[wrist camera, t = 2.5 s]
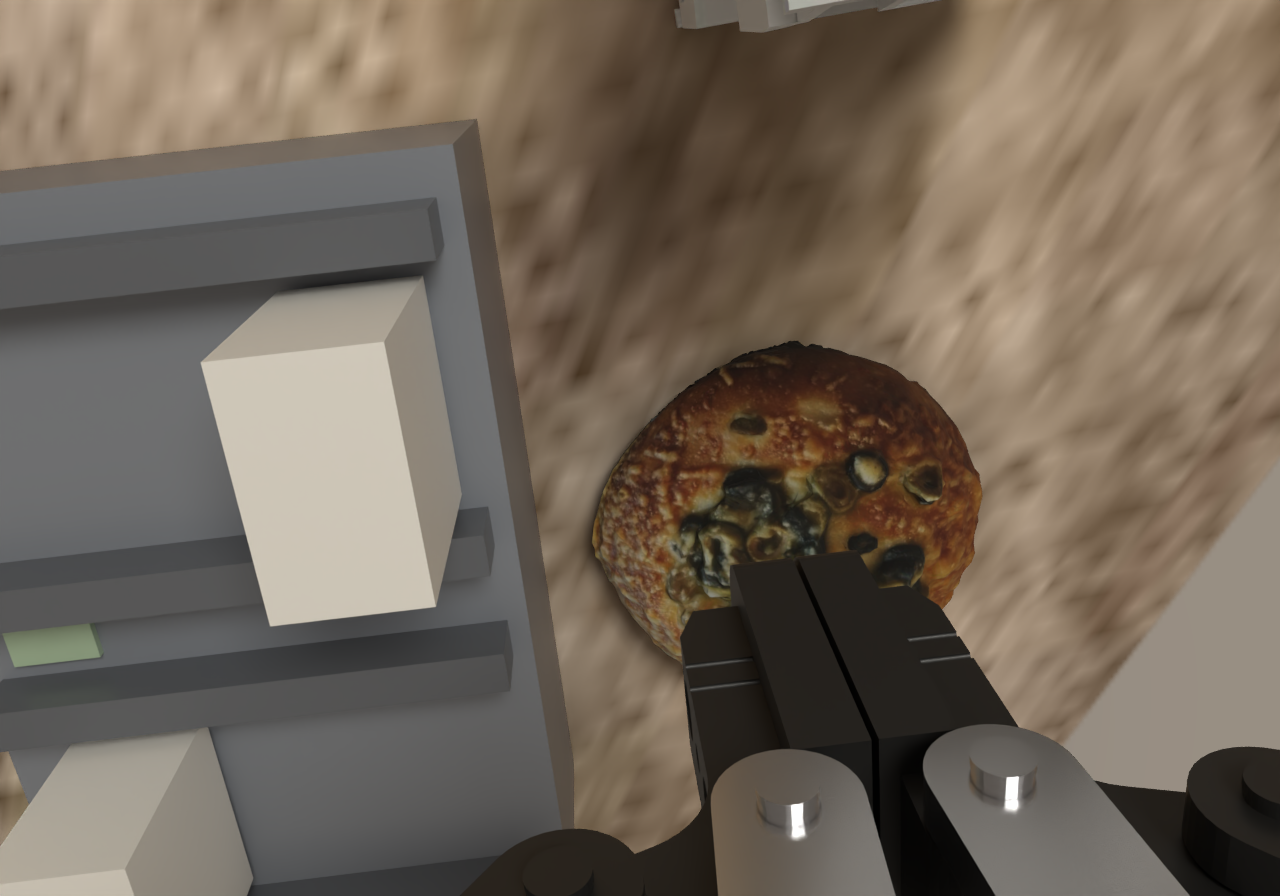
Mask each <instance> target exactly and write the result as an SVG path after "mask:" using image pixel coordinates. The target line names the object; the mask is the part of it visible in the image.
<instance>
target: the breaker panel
mask: <svg viewBox="0 0 1280 896" xmlns="http://www.w3.org/2000/svg"><path fill="white" fill-rule="evenodd" d="M420 275H423V279H424V284H425V290H426V295H427V301H428V307H429V312H430V318H431V324H432V329H433V335H434V340H435V346H436V352H437V357H438V363H439V369H440V374H441V380H442V386H443V391H444V397H445V402H446V408H447V414H448V419H449V425H450V431H451V436H452V442H453V447H454V453H455V459H456V464H457V470H458V476H459V481H460V487H461V493H462V496H461V500H460V505H459V509H458V513H457V518H456V522H455V526H454V531H453V535H452V539H451V544H450V548H449V552H448V557H447V561H446V565H445V570H444V574H443V578H442V583H441V587H440V591H439V596H438V600H437V604H436V607H431V608H423V609H414V610H406V611H397V612H389V613H380V614H372V615H363V616H355V617H346V618H338V619H329V620H321V621H313V622H304V623H296V624H287V625H279V626H270V624H269V620H268V616H267V613H266V609H265V605H264V601H263V597H262V594H261V590H260V586H259V582H258V579H257V575H256V571H255V567H254V563H253V560H252V556H251V552H250V548H249V544H248V541H247V537H246V533H245V529H244V525H243V522H242V518H241V514H240V510H239V506H238V503H237V499H236V495H235V491H234V488H233V484H232V480H231V476H230V472H229V469H228V465H227V461H226V457H225V453H224V450H223V446H222V442H221V438H220V434H219V431H218V427H217V423H216V419H215V416H214V412H213V408H212V404H211V400H210V397H209V393H208V389H207V385H206V381H205V378H204V374H203V370H202V366H201V362H202V361H203V360H204V359H205V358H206V357H207V356H208V355H209V354H210V353H211V352H212V351H214V350H215V349H216V348H217V347H218V346H219V345H220V344H221V343H222V342H223V341H224V340H226V339H227V338H228V337H229V336H230V335H231V334H232V333H233V332H234V331H235V330H236V329H237V328H239V327H240V326H241V325H242V324H243V323H244V322H245V321H246V320H247V319H248V318H249V317H251V316H252V315H253V314H254V313H255V312H256V311H257V310H258V309H259V308H260V307H261V306H263V305H264V304H265V303H266V302H267V301H268V300H269V299H270V298H271V297H272V296H273V295H274V294H276V293H277V292H278V291H286V290H295V289H304V288H312V287H321V286H330V285H339V284H348V283H357V282H366V281H375V280H384V279H393V278H402V277H411V276H420ZM206 727H208V729H209V732H210V736H211V739H212V742H213V746H214V749H215V752H216V756H217V759H218V762H219V765H220V769H221V772H222V775H223V779H224V782H225V785H226V789H227V792H228V795H229V799H230V802H231V805H232V809H233V812H234V815H235V819H236V822H237V825H238V829H239V832H240V835H241V839H242V842H243V845H244V849H245V852H246V855H247V859H248V862H249V865H250V869H251V872H252V875H253V881H252V883H251V886H250V889H249V892H248V894H247V896H460V895H461V894H462V893H463V892H464V891H465V890H466V889H467V888H468V887H469V886H470V885H471V884H472V883H473V882H474V881H475V880H476V879H477V878H478V877H479V876H480V875H481V874H482V873H483V872H484V871H485V870H486V869H487V868H488V867H489V866H490V865H491V864H492V863H493V862H494V861H495V860H496V859H497V858H499V857H500V856H501V855H502V854H503V853H505V852H506V851H507V850H508V849H510V848H512V847H513V846H515V845H516V844H518V843H520V842H522V841H524V840H526V839H528V838H530V837H533V836H536V835H539V834H542V833H545V832H550V831H555V830H562V829H574V762H573V755H572V749H571V742H570V735H569V729H568V722H567V715H566V709H565V702H564V695H563V689H562V682H561V675H560V669H559V662H558V655H557V649H556V642H555V636H554V629H553V622H552V616H551V609H550V602H549V596H548V589H547V582H546V576H545V569H544V562H543V556H542V549H541V542H540V536H539V529H538V522H537V516H536V509H535V503H534V496H533V489H532V483H531V476H530V469H529V463H528V456H527V449H526V443H525V436H524V429H523V423H522V416H521V409H520V403H519V396H518V389H517V383H516V376H515V370H514V363H513V356H512V350H511V343H510V336H509V330H508V323H507V316H506V310H505V303H504V296H503V290H502V283H501V276H500V270H499V263H498V256H497V250H496V243H495V236H494V230H493V223H492V217H491V210H490V203H489V197H488V190H487V183H486V177H485V170H484V163H483V157H482V150H481V143H480V137H479V130H478V123H477V119H474V120H464V121H455V122H446V123H437V124H428V125H419V126H410V127H400V128H391V129H382V130H373V131H364V132H355V133H346V134H336V135H327V136H318V137H309V138H300V139H291V140H282V141H272V142H263V143H254V144H245V145H236V146H227V147H218V148H208V149H199V150H190V151H181V152H172V153H163V154H154V155H144V156H135V157H126V158H117V159H108V160H99V161H90V162H80V163H71V164H62V165H53V166H44V167H35V168H25V169H16V170H7V171H0V752H5V751H9V754H10V756H11V759H12V762H13V764H14V767H15V769H16V772H17V774H18V777H19V780H20V782H21V785H22V787H23V790H24V792H25V795H26V798H27V800H28V803H29V804H30V803H31V801H32V800H33V799H34V797H35V796H36V794H37V793H38V791H39V790H40V788H41V787H42V786H43V784H44V783H45V781H46V780H47V778H48V777H49V775H50V774H51V773H52V771H53V770H54V768H55V767H56V765H57V764H58V762H59V761H60V760H61V758H62V757H63V755H64V754H65V752H66V751H67V749H68V748H69V747H70V745H71V744H72V743H81V742H89V741H98V740H106V739H114V738H123V737H131V736H139V735H148V734H156V733H164V732H173V731H181V730H190V729H198V728H206Z"/></svg>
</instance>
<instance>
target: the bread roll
mask: <svg viewBox="0 0 1280 896" xmlns="http://www.w3.org/2000/svg"><path fill="white" fill-rule="evenodd" d="M981 500H982V488H981V484H980V477H979V473H978V472H977V471H976V469H975V468H974V466H973V464H972V461H971V459H970V456H969V453H968V450H967V447H966V444H965V442H964V440H963V438H962V436H961V434H960V432H959V430H958V428H957V426H956V425H955V424H954V422H953V421H952V420H951V419H950V417H949V416H948V415H947V414H946V412H945V411H944V410H943V408H942V407H941V406H940V405H939V404H938V403H937V402H936V401H935V400H934V399H933V398H932V397H931V396H930V395H929V393H928V392H927V391H926V389H924V388H923V387H921V386H920V385H919V384H918V382H916V381H909V380H907V379H906V378H905V377H904V376H903V375H902V374H900V373H899V372H898V371H896V370H894V369H893V368H891V367H889V366H887V365H884V364H881V363H878V362H874V361H871V360H868V359H865V358H862V357H858V356H853V355H849V354H847V353H844V352H842V351H839V350H835V349H831V348H823V347H822V346H820V345H815V344H810V345H809V346H807V347H806V346H804V345H802V344H801V343H799V342H798V341H789V342H787V343H783V344H781V345H779V346H775V345H774V346H773V347H769V348H766V349H761V350H757V351H754V352H753V351H750V352H749V353H748V354H747V353H745V354H742V355H741V356H739V357H737V358H735V359H733V360H732V361H731V362H730V363H728V364H726V365H723V366H721V367H719V368H717V369H716V368H715V369H714V370H713V371H712V372H710V373H708V374H707V376H705V377H703V378H701V379H699V380H697V381H695V384H693V385H690V386H689V387H687V388H686V389H685V390H684V391H683V392H681V393H679V394H678V396H677V398H675V399H674V400H673V401H672V402H670V403H669V404H668V405H667V406H666V408H664V409H662V411H661V412H659V414H658V416H655V417H654V419H651V421H650V423H649V424H648V425H647V426H646V427H645V428H644V430H643V431H642V432H641V433H640V435H639V436H638V437H637V438H636V439H635V441H634V442H633V443H632V444H631V445H630V447H629V448H628V449H627V450H626V452H625V453H624V454H623V456H622V457H621V459H620V461H619V462H618V464H617V465H616V466H615V468H614V469H613V470H612V473H611V475H610V477H609V480H608V482H607V484H606V486H605V488H604V491H603V493H602V497H601V501H600V504H599V508H598V512H597V515H596V518H595V521H594V527H593V538H592V544H593V546H594V548H595V557H596V558H598V559H599V560H600V561H601V563H602V565H603V569H604V571H605V573H606V575H607V577H608V580H609V581H610V582H612V584H613V585H614V586H615V588H616V591H617V593H618V596H619V598H620V600H621V602H622V603H623V604H624V606H625V607H626V608H627V609H628V611H629V612H630V614H631V615H632V617H633V618H634V619H635V620H636V621H637V623H638V624H639V626H641V627H642V628H643V629H644V630H645V631H646V632H647V633H648V635H649V636H650V638H651V639H652V641H653V643H654V644H655V645H657V646H659V647H660V649H662V650H663V651H664V652H665V653H666V654H667V655H669V656H670V657H672V658H674V659H676V660H678V661H679V662H680V663H681V664H682V654H681V643H680V636H681V634H682V632H683V630H684V628H685V626H686V624H687V622H688V620H689V618H690V616H691V614H692V612H693V611H698V610H707V609H715V608H723V607H732V606H731V593H730V565H734V564H742V563H751V562H759V561H767V560H776V559H784V558H792V560H793V561H794V558H795V557H799V556H808V555H816V554H825V553H833V552H842V551H850V550H857V551H858V552H859V554H860V556H861V557H862V559H863V561H864V563H865V564H866V566H867V568H868V570H869V571H870V573H871V575H872V577H873V579H874V580H875V582H876V584H877V586H878V587H879V589H880V588H888V587H897V586H905V585H907V586H909V587H911V588H912V589H914V590H915V591H917V592H919V593H920V594H922V595H923V596H925V597H927V598H928V599H930V600H931V601H933V602H934V603H936V604H938V605H939V606H940V607H941V609H943V608H944V607H945V605H946V604H947V603H948V602H949V601H950V600H951V598H952V596H953V590H954V589H955V588H956V587H957V586H958V584H959V581H960V578H961V575H962V573H963V572H964V570H965V569H966V568H967V567H968V565H969V564H970V563H971V562H972V559H973V557H974V554H975V551H974V534H975V530H976V526H977V523H978V515H977V514H978V512H979V508H980V504H981ZM682 665H683V664H682Z"/></svg>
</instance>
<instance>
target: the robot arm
mask: <svg viewBox="0 0 1280 896" xmlns="http://www.w3.org/2000/svg"><path fill="white" fill-rule="evenodd" d="M730 593H731V606H732V607H723V608H715V609H707V610H698V611H693V612H692V614H691V616H690V618H689V620H688V622H687V624H686V626H685V628H684V630H683V632H682V634H681V636H680V643H681V654H682V664H683V675H684V685H685V696H686V706H687V717H688V727H689V738H690V746H691V752H692V757H693V763H694V768H695V774H696V778H697V785H698V790H699V796H700V800H701V807H702V809H701V810H700V812H699V814H698V815H697V816H696V818H695V819H694V820H693V821H692V822H691V823H690V824H689V825H688V826H687V827H686V828H685V829H683V830H682V831H681V832H680V833H678V834H677V835H675V836H674V837H672V838H670V839H669V840H667V841H665V842H663V843H661V844H659V845H656V846H654V847H652V848H649V849H647V850H644V851H642V852H639V853H637V854H634V853H633V852H632V851H631V850H630V849H629V847H627V846H626V845H625V844H623V843H622V842H621V841H619V840H617V839H616V838H614V837H612V836H610V835H607V834H604V833H601V832H598V831H592V830H586V829H562V830H555V831H550V832H545V833H542V834H539V835H536V836H533V837H530V838H528V839H526V840H524V841H522V842H520V843H518V844H516V845H515V846H513V847H512V848H510V849H508V850H507V851H506V852H505V853H503V854H502V855H501V856H500V857H499V858H497V859H496V860H495V861H494V862H493V863H492V864H491V865H490V866H489V867H488V868H487V869H486V870H485V871H484V872H483V873H482V874H481V875H480V876H479V877H478V878H477V879H476V880H475V881H474V882H473V883H472V884H471V885H470V886H469V887H468V888H467V889H466V890H465V891H464V892H463V893H462V894H461V895H460V896H1280V750H1276V749H1269V748H1262V747H1261V748H1260V747H1234V748H1227V749H1222V750H1218V751H1215V752H1212V753H1210V754H1208V755H1206V756H1204V757H1202V758H1201V759H1200V760H1198V761H1197V762H1196V763H1195V764H1194V765H1193V767H1192V768H1191V770H1190V771H1189V775H1188V779H1187V788H1186V792H1177V791H1167V790H1156V789H1146V788H1136V787H1126V786H1119V785H1113V784H1107V783H1103V782H1099V781H1094V780H1093V779H1092V778H1091V776H1090V775H1089V774H1088V773H1087V772H1086V770H1085V769H1084V768H1083V767H1082V766H1081V764H1080V763H1079V762H1078V761H1077V760H1076V759H1075V757H1074V756H1072V754H1071V753H1070V752H1069V751H1068V750H1066V749H1065V748H1064V747H1062V746H1061V745H1060V744H1058V743H1057V742H1055V741H1053V740H1051V739H1049V738H1048V737H1046V736H1043V735H1041V734H1038V733H1036V732H1033V731H1030V730H1027V729H1023V728H1019V727H1018V725H1017V724H1016V722H1015V721H1014V719H1013V718H1012V716H1011V715H1010V713H1009V712H1008V710H1007V709H1006V707H1005V705H1004V704H1003V702H1002V701H1001V699H1000V698H999V696H998V695H997V693H996V692H995V690H994V689H993V687H992V686H991V684H990V683H989V681H988V679H987V678H986V676H985V675H984V673H983V672H982V670H981V669H980V667H979V666H978V664H977V663H976V661H975V660H974V658H971V657H970V652H969V650H968V649H967V647H966V646H965V644H964V643H963V641H962V640H961V638H960V637H959V636H958V637H957V635H956V630H955V629H954V627H953V626H952V624H951V623H950V621H949V620H948V618H947V617H946V615H945V614H944V612H943V611H942V609H941V607H940V606H939V605H938V604H936V603H934V602H933V601H931V600H930V599H928V598H927V597H925V596H923V595H922V594H920V593H919V592H917V591H915V590H914V589H912V588H911V587H909V586H907V585H905V586H897V587H888V588H880V589H879V587H878V586H877V584H876V582H875V580H874V579H873V577H872V575H871V573H870V571H869V570H868V568H867V566H866V564H865V563H864V561H863V559H862V557H861V556H860V554H859V552H858V551H857V550H850V551H842V552H833V553H825V554H816V555H808V556H799V557H795V558H794V561H793V560H792V558H784V559H776V560H767V561H759V562H751V563H742V564H734V565H730Z"/></svg>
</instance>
